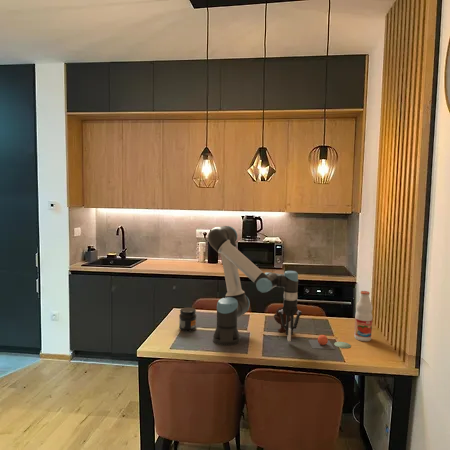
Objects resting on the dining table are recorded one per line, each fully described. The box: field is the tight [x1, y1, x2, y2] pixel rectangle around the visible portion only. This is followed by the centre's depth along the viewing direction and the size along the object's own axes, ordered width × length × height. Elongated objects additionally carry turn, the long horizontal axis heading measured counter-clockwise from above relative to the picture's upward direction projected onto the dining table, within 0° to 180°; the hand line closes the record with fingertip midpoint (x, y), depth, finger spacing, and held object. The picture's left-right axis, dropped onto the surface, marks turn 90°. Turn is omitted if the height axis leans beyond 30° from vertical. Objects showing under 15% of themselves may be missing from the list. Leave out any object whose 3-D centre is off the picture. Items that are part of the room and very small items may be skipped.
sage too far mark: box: [333, 341, 352, 349], centre depth 211 cm, size 9×9×1 cm
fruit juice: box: [353, 290, 374, 342], centre depth 221 cm, size 9×9×28 cm
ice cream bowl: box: [273, 306, 291, 333], centre depth 231 cm, size 11×11×15 cm
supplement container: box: [178, 307, 197, 332], centre depth 231 cm, size 10×10×12 cm
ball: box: [317, 334, 329, 345], centre depth 211 cm, size 6×6×6 cm
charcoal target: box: [307, 339, 336, 350], centre depth 211 cm, size 12×12×1 cm
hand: (288, 340), depth 211 cm, fingers closed
